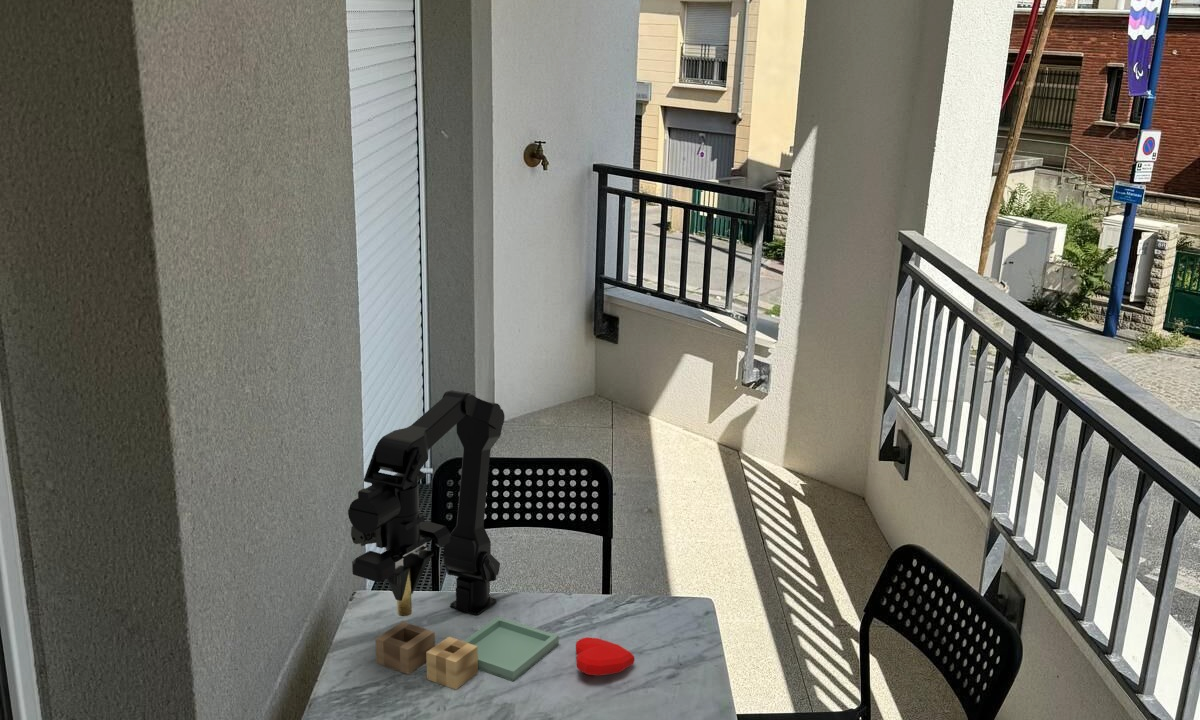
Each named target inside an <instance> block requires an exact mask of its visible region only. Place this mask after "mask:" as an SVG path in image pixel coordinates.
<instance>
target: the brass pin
mask: <svg viewBox="0 0 1200 720" xmlns="http://www.w3.org/2000/svg"><path fill="white" fill-rule="evenodd" d="M412 603H413V602H412V594H411V569H410V568H409V573H408V577H407V582H406V587H405V591H404V595H403V598H402V600H401V601H398V600H396V605H397V606H396V608H397V609H396V610H397V612H396V613H397V615H398V616H399V617H408V616H411V615H412V614H413V604H412Z"/></svg>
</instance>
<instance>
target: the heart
mask: <svg viewBox="0 0 1200 720" xmlns="http://www.w3.org/2000/svg"><path fill="white" fill-rule="evenodd" d="M575 654H576V668H577V669H578V670H579V671H580V672H582V673H584V674H586V675H588V676H589V675H590V676H604V675H612V674H617V673H618V674H619V673H620V672H622V671H624V670H625V669H627V668H629V667H631V666H632V665H633V664H634V663H635V656H634V654H633V653H631V652H630V651H629V650H627V649H625V648H624V647H622V646H621V645H620V644H617V643H614V642H612V641H611V642H610V641H607V640H604V639H602V638H596V637H588V636H587V637H582V638H581V639H579V640H577V641H576V642H575Z"/></svg>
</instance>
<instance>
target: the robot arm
mask: <svg viewBox="0 0 1200 720" xmlns="http://www.w3.org/2000/svg"><path fill="white" fill-rule="evenodd" d="M501 407H502V406H501V404H499V403H495V402H491V401H490V402H489V401H485V400H483V399H481V398H478V397H477V396H476V395H474V394H472V393H470V392H466V391H465V392H464V391H459V390H447V391H445V392H444V393H443V395H442V398H441V399H440V400H439V401H438V402H436V403H435V404H434V405H433V406H432V407H430V408H429V409H428V410H427V411H426V412H424V413H423V414H422V415H421V416H420V417H419V418H417V419H416V421H415V422H413V423H411V425H409V426H407V427H404V428H399V429H395V430H393V431H391V432H389V433H387V434H385V435H384V436H382V437H381V438H380V439H379V440H378V442H377V443H376V445H375V447H374V450H373V453H372V455H371V459H370V461H369V464H368V467H367V469H366V473H365V476H364V478H363V482H365V483H368V484H371V485H369V486H368V487H365V488H361V489H360V490H358V491H357V498H355V499H354V500H352V502H351V503H350V505H349V507H348V510H347V514H348V515H347V516H348V519H349V521H350V523H351V527H350V528H351V529H350V537H351V541H352V543H353V544H355V545H360V546H361V547H364V546H366V545H370V544H375V547H376V548H379V549H383V548H385V551H382V552H381V553H379V552H376V551H373V550H369V551H367V552H365V553H362V554H361V555H359V556H358V557H356V558H355V559H353V560H352V561H351V567H352V570H351V571H352V575H353V576H357V577H360V578H363V579H366V580H369V581H373V582H375V583H380V582H381V583H382V582H384V581H385V580H387V583H388V586H389V587H390V590H391V592H392V594H393V596H394V598H395V600H396V601H397V600H398V601H401V600H402V598H403V595H404V591H405V587H406V582H407V577H408V573H409V568H410V569H411V595H413V594H414V591H415V590H416V587H417V586H418V583H419V581H420V579H421V577H422V575H423V573H424V571H425V569H426V567H427V565H428V563H429V562H430V560H431V558H432V557H434V551H431V550H428V546H427V543H428V542H430V541H433V540H435V541H434V544H435V546H437V547H439V548H442V547H443V551H442V561H443V564H444V566H445V570H446V573H447V575H448V576H454V577H456V578H455V582H456V583H455V584H456V587H455V600H454V601H452V602H451V603H450V604H449V605H450V606H449V607H450V608H453V609H456V610H459V611H463V612H465V613H469V614H471V615H474V616H477V615H480V614H481V613H483V612H484V611H486V610H487V609H489V608H490V607H491V606H493V605H494V604H496V603H497V599H496V598H494V597H491V582H493V581H496V580H497V576H499V574H500V573H499V572H500V566H501V562H499V560H497V559H496V557H494V555H492V552H491V549H492V548H491V547H492V546H491V539H490V537H489V535H488V533H487V531H486V529H485V525H484V524H485V514H486V513H485V511H486V504H487V502H486V501H487V493H488V491H487V490H488V482H489V481H488V480H489V471H490V470H489V469H490V458H491V450H492V449H493V448H494V447H493V446H495V444H496V443H497V442H498V441H499V439H500V437H501V435H502V429H503V426H504V423H505V419H506V417H505V411H504V409H502V408H501ZM454 426H456V428H455V431H456V435H457V437H458V439H459V441H460V444H461V446H462V447H463V448H462V449H463V452H462V461H461V462H462V463H461V464H462V465H461V473H460V485H459V496H458V507H457V517H456V518H457V519H456V526H455V527H454V528H453V530H452V531H449V529H448V528H447V525H443V524H438V523H435V522H431V521H427V520H426V519H425V514H423V513H420V505H419V504H420V502H419V500H420V499H419V481H420V480H422V479H424V478H425V477H426V474H425V472H423V471H422V470H421V469H422V468H423V467H424V465H426V463H427V461H429V455H430V454H429V453H430V449H432V447H433V446H434V445H435V444H436V443H437V442H439V441H440V439H441V438H443V437H444V436H445V435H446V434H447V433H448V432H449V431H450V430H452V428H454ZM380 470H383V471H385V473H383V472H380ZM386 472H392V473H395V474H389V473H386ZM489 593H490V594H489Z"/></svg>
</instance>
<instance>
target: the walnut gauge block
mask: <svg viewBox="0 0 1200 720" xmlns="http://www.w3.org/2000/svg"><path fill="white" fill-rule="evenodd" d="M435 646H436V643H435V631H433V630H430V629H427V628H424V627H420V626H418V625H414V624H412V623H408V622H406V621H403V620H402V621H401V622H399V623H398V624H396V625H395V626H392V627H391V628H389V629H388V630H387V631H385V632H383V633H382V634H381V635H379V636H377V637H375V660H376V664H378V665H381V666H384V667H387V668H389V669H392V670H395V671H397V672H400V673H403V674H406V675H410V674H411V673H413V672H414V671H416V670H417V669H419V668H420V667H422V666H423V665H424V664H427V660H426V652H427V651H429V650H430V649H432V648H433V647H435Z"/></svg>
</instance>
